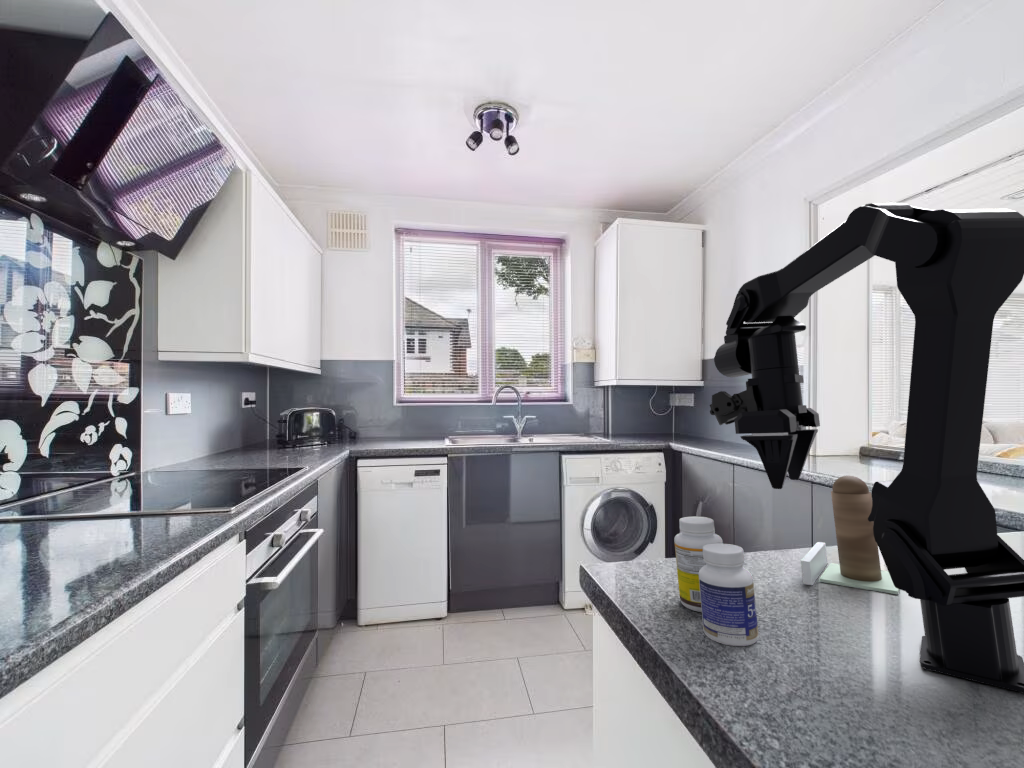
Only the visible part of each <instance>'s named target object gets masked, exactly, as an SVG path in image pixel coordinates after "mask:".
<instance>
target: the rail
mask: <svg viewBox="0 0 1024 768" xmlns="http://www.w3.org/2000/svg"><path fill="white" fill-rule="evenodd" d="M800 564H801V573H802V584H803V585H807V586H813V585H814V584H815V582H816V581H817V579H818V578H820V575H822V572H823V571H825V570H824V569H826V568H827V566H828V565H829V563H828V553H827V546H826V542H822V541H816V543H815V544H814V545H813V546H812V548H811V549H809V551H808V552H807V553H806V554H805V555H804V556H803V558H802V559H801V560H800Z"/></svg>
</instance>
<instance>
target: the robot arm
mask: <svg viewBox="0 0 1024 768" xmlns="http://www.w3.org/2000/svg"><path fill="white" fill-rule="evenodd" d="M875 256H876V257H879V258H881V259H885V260H887V261H890V262H894V265H895V274H896V275H895V276H896V277H895V278H896V287H897V290H898V291H899V293H900V294H901V296H902V297H903V299H904V301H905V302H906V304H907V305H908V308H909V309H910V310H911V312H912V313H913V315H914V322H915V323H914V332H913V344H912V345H913V346H912V353H911V354H912V356H911V367H910V380H909V390H908V402H907V415H906V426H905V436H904V448H903V449H904V450H903V461H902V462H903V463H902V467H901V470H900V472H898V474H897V475H896V476H895V478H894V479H893V480H881V481H879V480H878V481H874V483H873V485H872V488H871V496H872V510H871V513H870V515H869V517H868V521H870V522H872V521H874V524H873V534H874V538H875V542H876V543H877V545H878V550H879V552H880V554H881V557H882V559H883V561H884V564H885V567H886V569H887V571H888V572H889V574H890V577H891V579H892V581H893V584H894V586H895V587H896V588H898V589H899V591H900V590H901V591H903V592H905V593H906V594H908V597H910V598H912V599H915V600H920V609H921V615H922V623H923V631H924V635H922V636H921V642H920V653H919V665H920V667H921V668H922V669H925V670H929V671H931V672H932V671H933V672H936V673H941V674H945V675H949V676H953V677H956V678H962V679H964V680H965V679H966V680H969V681H974V682H977V683H981V684H985V685H990V686H994V687H998V688H1002V689H1007V690H1011V691H1015V692H1018V693H1023V694H1024V659H1023V657H1022V656H1021V655H1019V654H1018V652H1017V645H1016V638H1015V631H1014V625H1013V618H1012V610H1011V605H1010V604H1011V603H1010V599H1014V598H1024V558H1023V557H1021V555H1019V554H1018V552H1016V551H1015V550H1014V548H1012V547H1011V546H1010V545H1009V544H1008V543H1007V542H1006V541H1005V540H1004V539H1002V537H1000V536H999V535H998V529H997V528H998V527H997V525H998V524H997V517H996V510H995V508H994V505H993V504H992V503H991V501H990V499H989V498H988V496H987V494H986V493H985V491H984V490H983V488H982V486H981V485H980V483H979V481H978V477H977V476H978V466H979V458H980V457H979V456H980V446H981V437H982V429H983V422H984V421H983V420H984V410H985V400H986V393H987V383H988V374H989V365H990V355H991V345H992V336H993V327H994V320H995V316H996V314H997V312H998V311H999V310H1000V309H1001V307H1002V306H1003V305H1004V303H1005V302H1006V301H1007V300H1008V299H1009V297H1010V296H1011V295H1012V294H1013V292H1014V291H1015V290H1016V289H1017V288H1018V286H1019V285H1020V284H1021V282H1022V281H1023V279H1024V215H1023V214H1022V213H1020V212H1019V211H1016V210H1012V209H1009V208H974V209H972V208H969V209H967V208H965V209H963V208H962V209H961V208H960V209H958V208H957V209H950V208H949V209H930V208H923V207H919V206H913V205H910V204H908V203H904V202H885V203H884V202H882V203H880V202H877V203H876V202H873V203H872V202H871V203H870V202H869V203H866V204H864V205H861V206H858V207H857V208H855V209H853V210H852V212H850V214H849V215H848V217H847V219H845V221H843V222H842V223H841V224H839V225H838V226H837V227H835V228H834V229H833V230H832V231H830V232H829V233H827V234H826V235H825V236H823V237H822V238H821V239H819V241H818V240H817V242H815V244H812V246H810V247H809V248H808V249H807V250H805V251H804V252H802V253H801V254H800V255H799V256H797V257H796V258H795V259H793V260H792V261H791V262H789V263H788V264H787V265H785V266H784V267H783V268H780V269H779V270H775V271H773V272H769V273H765V274H762V275H758V276H756V277H754V278H752V279H751V280H748V281H747V282H745V283H743V284H742V285H741V286H740V288H739V289H738V291H737V293H736V295H735V298H734V300H733V301H734V302H733V306H732V308H731V310H730V311H731V312H730V313H729V316H728V318H727V320H726V324H725V325H726V326H727V327H726V330H725V335H724V336H723V340H724V342H723V343H722V344H721V345H720V346H719V347H718V348H717V349H716V351H715V355H714V357H713V361H714V365H715V368H716V370H717V371H718V372H719V373H720V374H721V375H722V376H724V377H727V378H737V377H742V376H749V375H751V378H747V380H746V381H745V390H744V391H740V392H739V393H734V394H733V395H731V394H729V393H728V392H727V391H722V390H721V391H718V392H716V393H714V394H712V395H711V404H709V408H710V410H709V414H710V415H711V416H715V418H716V420H717V423H718V425H719V426H722V425H724V424H725V425H730V424H733V423H734V429H735V434H736V435H738V434H739V435H740V434H741V435H740V436H739V437H740V438H741V440H742V441H745V442H746V443H748V444H749V445H751V446H753V448H754V449H756V451H757V454H758V456H759V458H760V461H761V463H762V465H763V468H764V471H765V473H766V475H767V478H768V480H769V483H770V485H771V488H772V489H774V490H782V489H783V488H784V485H785V481H786V478H787V474H788V477H789V479H790V480H793V481H798V480H800V477H801V476H802V473H803V470H804V467H805V464H806V462H807V459H808V456H809V454H810V451H811V448H812V445H813V444H814V440H815V438H816V436H817V433H818V431H819V429H818V427H820V426H821V423H820V413H819V412H817V411H816V410H814V409H813V408H811V407H807V405H806V404H805V405H803V403H804V402H803V395H802V385H801V384H804V383H805V382H804V375H802V374H800V368H799V360H798V358H799V357H798V351H797V339H796V333H800V332H804V331H805V330H806V329H807V326H806V325H805V324H804V323H803V322H801V321H799V320H797V319H795V317H796V316H797V315H799V314H800V313H801V312H802V311H804V309H806V308H807V307H808V306H809V302H810V297H812V296H813V295H814V294H815V293H816V292H818V291H820V290H821V289H823V288H824V287H826V286H827V285H830V284H831V283H833V282H834V281H836V280H838V279H840V278H841V277H842V276H844V275H846V274H848V273H849V272H850V271H853V270H854V269H856V268H857V267H859V266H861V264H863V263H865V262H867V261H869V260H870V259H872V258H873V257H875ZM807 427H811V428H813V429H811V428H810V429H807ZM814 428H815V429H814ZM743 434H745V435H743ZM955 569H964V570H965V572H964V573H963V572H962V573H955V574H948V573H947V572H946V571H945V570H955Z"/></svg>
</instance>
